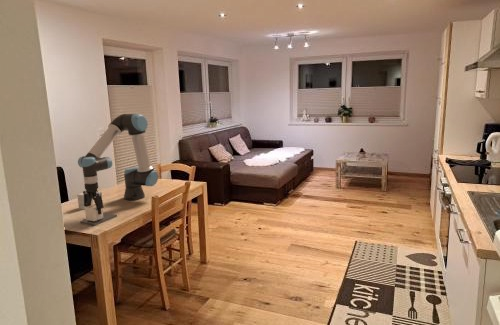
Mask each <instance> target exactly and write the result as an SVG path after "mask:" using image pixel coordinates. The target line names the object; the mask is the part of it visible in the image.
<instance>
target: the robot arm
mask: <svg viewBox="0 0 500 325" xmlns="http://www.w3.org/2000/svg"><path fill="white" fill-rule="evenodd" d="M148 125H149V124H148V120H147V117H146V116H145V115H143V114H140V113H139V114H138V113H123V114H122V113H121V114H120V115H117V116H116V117H115V118H114V119H113V120H112V121H111V122H109V124H108V126H107V129H106V130H105V131H104V133H103V134H101V136H100V137H99V139H98V140H97V141H96V142H95V144H93V146H92V148H90V150H89V151H88V152H87V153H86V154H85V155H83V156H80V157H79V158H78V160H77V165H78V166H79V167H80V168H82V174H83V183H84V190H83V191H82V193H83V194H84V206H86V207H87V206H90V205H91V201H92V199H93V203H94V204H95V205H96V208H97V209H96V214H97V220H99V219H102V218H101V209H102V208H103V209H104V202H103V198H102V197H103V196H102V192H99V191H98V189H99V183H98V181H99V180H98V172H100V171H104V170H108V169H111V168H112V166H113V160H112V158H110V157H109V156H104V157H101V156H102V155H103V154H104V152H105V151H107V149H108V148H109V147H110V145H111V144H112V143H113V142H114V140H115V139H116V138H117V136H118V135H121V134H122V133H123V132H124V131H125V132H126V131H127V132H128V135H129V136H130V137H131V140H132V145H133V150H134V153H135V158H136V162H137V166H135V167H128V168H125V169H124V171H123V172H124V177H123V178H124V184H125V185H124V187H125V189H124V194H123V199H124V200H126V201H136V200H142V199H145V192H144V189H143V186H144V187H154V186H155V185H157V183H158V180H159V173H158V171H157V170H155V169H154V166H153V165H152V164H151V161H150V157H149V151H148V146H147V141H146V138H145V134H146V130H147V128H148Z"/></svg>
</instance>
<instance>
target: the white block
mask: <svg viewBox="0 0 500 325" xmlns="http://www.w3.org/2000/svg"><path fill="white" fill-rule="evenodd" d="M96 209H97V208H96V205H95V203H93V205H90V206H87V207H85V209H84V212H85V219H86V220H90V221H96V220H97V214H96ZM103 209H104V208H102V209H101V218H103V212H104V211H103Z"/></svg>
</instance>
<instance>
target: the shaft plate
mask: <svg viewBox="0 0 500 325" xmlns="http://www.w3.org/2000/svg"><path fill="white" fill-rule="evenodd" d="M117 217H118V215H117V214H115V213H108V212H104V211H103V218H102V219H99V220H96V221H90V220H86V218H84V219H83V220H80V221H79V223H80V224H82V225H88V226H92V227H95V226H97V225H100V224H103V223H105V222H108V221H110V220H113V219H115V218H117Z"/></svg>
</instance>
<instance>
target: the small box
mask: <svg viewBox="0 0 500 325" xmlns="http://www.w3.org/2000/svg"><path fill="white" fill-rule="evenodd" d="M77 203H78V209H79V210H85V207H86V206H84V194H83V192H80V193H78V194H77ZM93 204H94V200H93V199H92V201H91V205H93Z"/></svg>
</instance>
